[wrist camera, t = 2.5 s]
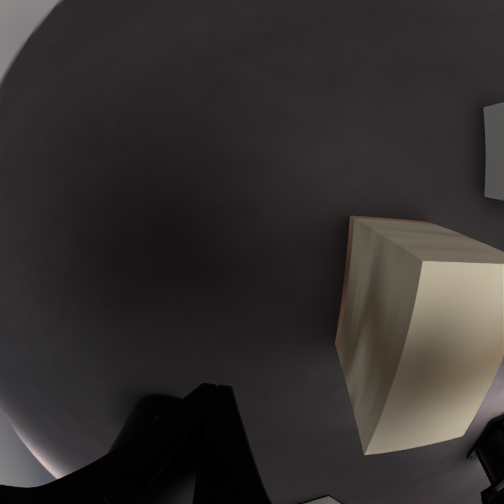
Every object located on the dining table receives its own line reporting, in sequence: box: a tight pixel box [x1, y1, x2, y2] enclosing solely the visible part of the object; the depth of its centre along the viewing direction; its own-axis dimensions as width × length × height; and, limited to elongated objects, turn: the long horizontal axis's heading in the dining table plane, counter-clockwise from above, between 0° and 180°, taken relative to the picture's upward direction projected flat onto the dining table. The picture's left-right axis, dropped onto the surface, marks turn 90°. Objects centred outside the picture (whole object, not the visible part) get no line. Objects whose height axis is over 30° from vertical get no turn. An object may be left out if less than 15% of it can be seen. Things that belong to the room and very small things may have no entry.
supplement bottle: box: [108, 397, 179, 453], centre depth 15 cm, size 7×7×12 cm
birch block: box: [335, 216, 504, 455], centre depth 12 cm, size 8×5×9 cm, turn 179°
